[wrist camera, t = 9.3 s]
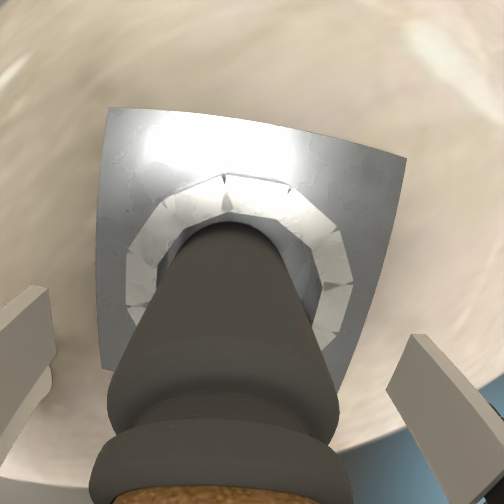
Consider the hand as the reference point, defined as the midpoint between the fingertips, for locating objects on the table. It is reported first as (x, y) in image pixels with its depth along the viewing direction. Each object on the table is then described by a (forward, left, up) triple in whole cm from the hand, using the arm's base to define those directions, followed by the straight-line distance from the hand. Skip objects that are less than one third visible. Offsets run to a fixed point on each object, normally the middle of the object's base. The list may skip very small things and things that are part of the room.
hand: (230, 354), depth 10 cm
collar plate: (0, 0, -8) cm, 8 cm away
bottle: (0, 0, -7) cm, 7 cm away
